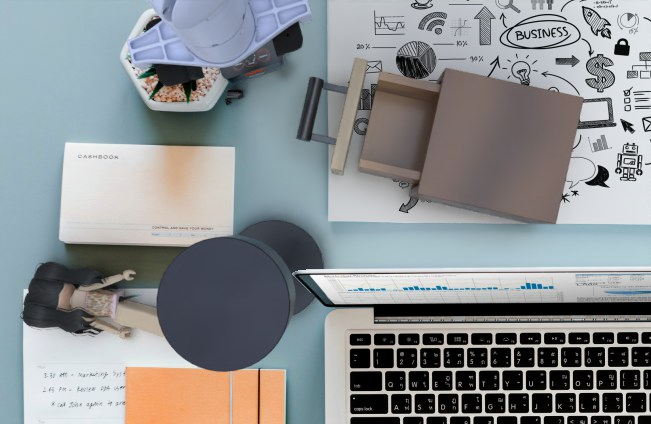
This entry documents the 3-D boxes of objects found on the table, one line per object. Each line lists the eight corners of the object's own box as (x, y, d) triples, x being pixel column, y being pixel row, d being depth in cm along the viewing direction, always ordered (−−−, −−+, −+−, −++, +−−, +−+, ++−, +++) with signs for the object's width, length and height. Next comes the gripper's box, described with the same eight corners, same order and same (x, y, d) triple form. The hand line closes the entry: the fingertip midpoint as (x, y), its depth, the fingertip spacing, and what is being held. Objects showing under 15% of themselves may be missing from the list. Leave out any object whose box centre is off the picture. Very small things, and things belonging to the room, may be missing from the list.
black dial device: (213, 64, 67) (207, 56, 63) (279, 42, 66) (276, 33, 63) (227, 106, 66) (221, 101, 63) (293, 85, 66) (290, 78, 63)
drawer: (294, 164, 65) (288, 158, 59) (316, 64, 65) (313, 48, 59) (443, 197, 65) (453, 195, 58) (465, 97, 65) (478, 83, 58)
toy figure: (184, 271, 67) (40, 255, 66) (170, 285, 60) (10, 267, 60) (179, 338, 67) (36, 322, 67) (164, 358, 61) (6, 341, 61)
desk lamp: (238, 210, 66) (159, 203, 38) (333, 231, 66) (323, 240, 38) (217, 305, 66) (122, 367, 38) (311, 327, 66) (286, 406, 38)
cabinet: (408, 196, 66) (417, 193, 58) (433, 86, 66) (445, 67, 58) (530, 224, 65) (556, 224, 57) (555, 112, 65) (584, 97, 57)
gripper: (289, -75, 46) (302, -7, 59) (94, -18, 46) (151, 36, 60) (315, 20, 45) (322, 66, 59) (119, 77, 46) (171, 109, 59)
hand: (238, 56), depth 59 cm, fingers open, 7 cm apart
